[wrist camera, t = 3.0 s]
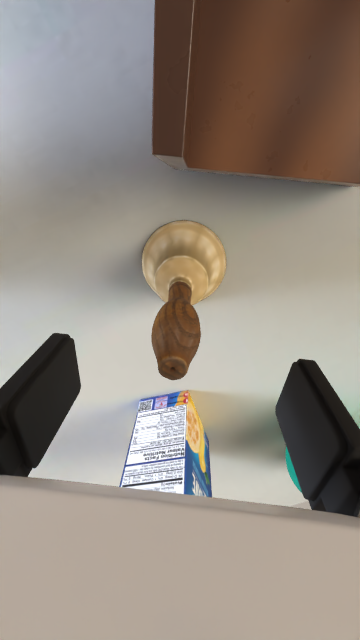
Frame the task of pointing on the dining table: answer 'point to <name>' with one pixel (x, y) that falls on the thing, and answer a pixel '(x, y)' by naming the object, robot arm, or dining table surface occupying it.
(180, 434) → the beverage box
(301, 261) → the dining table surface
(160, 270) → the hand bell
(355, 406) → the dining table surface
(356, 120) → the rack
